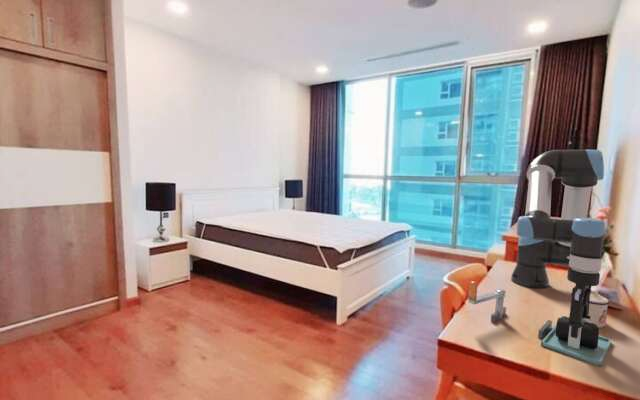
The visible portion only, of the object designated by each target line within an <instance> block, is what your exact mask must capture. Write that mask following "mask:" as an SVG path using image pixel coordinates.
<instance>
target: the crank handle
mask: <svg viewBox="0 0 640 400" xmlns="http://www.w3.org/2000/svg"><path fill="white" fill-rule="evenodd" d="M478 284H479V283H478V281H475V280H470V281H469V284H468V285H469V286H468V287H469V288H468V300H467V302H468V303H470V304H471V305H478V304H481V303H484V302H487V301H488V302H489V301H490V300H496V298H498V297H499V298H504V299H505V298H506V290H504V289H501V288H496V289H495V291H491V292H488V293H485V294H481V295H478Z"/></svg>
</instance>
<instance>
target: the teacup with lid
mask: <svg viewBox="0 0 640 400" xmlns="http://www.w3.org/2000/svg"><path fill="white" fill-rule="evenodd" d="M609 303H610V301H609V300H608V299H607V298H606V297H605V296H602V295H600V294H599V293H597V291H596V289H591V294H590V303H589V314H588V316H591V317H590V319H587V318H585V319H587V322H588V323H593V324H596V325H597V327H598V328H599V329H600V328H604V327H606V324H607V315H608V305H609Z"/></svg>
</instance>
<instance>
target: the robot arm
mask: <svg viewBox="0 0 640 400" xmlns="http://www.w3.org/2000/svg"><path fill="white" fill-rule="evenodd" d="M604 166H605V165H604V155H603V152H602V151H601V150H599V149H587V148H586V149H552V150H548V151H544V152H543V153H541V154H539V155H538V156H536V157H535V158H534V159H533V160H532V161H531V162H530V164H528V167H527V170H526V179H527V180H528V185H527V186H528V188H527V193H526V194H527V195H526V203H525V204H526V205H525V213H524V214H525V215H524V216H523V215H521V216H519V217H518V218H517V227H516V235H517V236H518V237H519V238H518V243H517V254H516V255H517V256H516V265H515V267H514V269H513V271H512V273H511V278H510V280H511V281H512V282H513V283H515V284H517V285H520V286H523V287H528V288H533V289H534V288H535V289H545V288H548V287H549V286H550V279H549V277H548V273H547V270H546V269H547V264H548V265H555V266H562V267H569V268H567V277H566V278H567V280H568V281H569V282H571V283H574V284H575V285H574V287H572V291H571V299H570V301H571V302H570V309H569V314H568V315H569V316H568V317H569V322H568V323H566V324H567V325H570V327H569V337H568V346H570V347H573V348H576V349H579V347H580V337H581V328H582V327H581V323H582V324H584V323H585V322H587V319H590V317H591V316H588V314H589V303H590V294H591V290H592V287H597V286H598V285H600V277H601V274H600V272H601V270H602V269H601V268H602V262H603V261H602V260H603V257H602V256H603V248H604V247H603V246H604V238H605V234H606V230H605V227H606V223H605V221H604V220H602V219H597V218H591V217H588V213H589V205H590V200H591V193H592V188H593V187H596V186H597V185H598V181H601V180H604V176H605V167H604ZM554 179H561V180H560V182H561V184H562V185H563V186H564V192H563V200H562V201H563V202H562V207H561V209H562V210H561V216H560V217H561V218H560V219H559V218H551V207H552V205H551V204H552V203H551V202H552V183H553V181H554ZM585 318H587V319H585ZM574 322H575V323H574Z"/></svg>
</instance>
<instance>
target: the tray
mask: <svg viewBox="0 0 640 400" xmlns="http://www.w3.org/2000/svg"><path fill="white" fill-rule="evenodd" d="M556 325H557V323H556V324H555V325H554V326H553V328H551V329H550V330H549V331H548V332H547V334H546V335H545V336H544V337H543V338H542V339H541V342H540V346H541V347H544V348H545V349H549V350H551V351H555V352H558V353H560V354H563V355H566V356H569V357H572V358H575V359H577V360H581V361H583V362H585V363H588V364H592V365H595V366H598V367H600V368H601V366H602V364H603V362H604V360H605V358H606V355H607V353H608V351H609V349H610V347H611V344H612V339H611V338H608V337H605V336H601V335H599V337H598V347H597V348H595V349H592V348H589V347H585V346H582V345H580V347H579V349H576V348H573V347H570V346H568V341H565V340H561V339H558V337H556Z"/></svg>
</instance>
